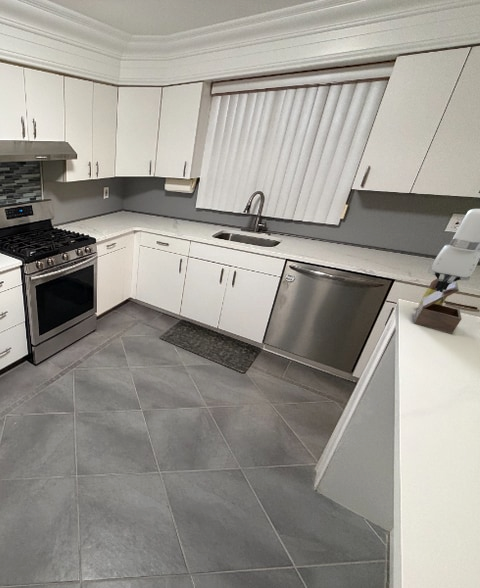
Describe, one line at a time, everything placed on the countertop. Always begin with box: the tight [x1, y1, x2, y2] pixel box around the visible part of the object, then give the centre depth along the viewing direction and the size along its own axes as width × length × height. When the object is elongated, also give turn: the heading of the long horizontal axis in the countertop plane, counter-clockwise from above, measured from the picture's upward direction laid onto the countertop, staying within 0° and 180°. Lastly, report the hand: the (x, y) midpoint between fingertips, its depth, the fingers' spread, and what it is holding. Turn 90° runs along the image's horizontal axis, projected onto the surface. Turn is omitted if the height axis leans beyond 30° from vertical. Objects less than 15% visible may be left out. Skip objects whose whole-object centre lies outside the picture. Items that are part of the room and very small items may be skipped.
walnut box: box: [413, 303, 462, 335], centre depth 121 cm, size 10×10×7 cm
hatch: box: [421, 281, 460, 308], centre depth 119 cm, size 11×10×1 cm
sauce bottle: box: [416, 274, 451, 311], centre depth 127 cm, size 7×6×20 cm
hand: (438, 290), depth 119 cm, fingers closed
